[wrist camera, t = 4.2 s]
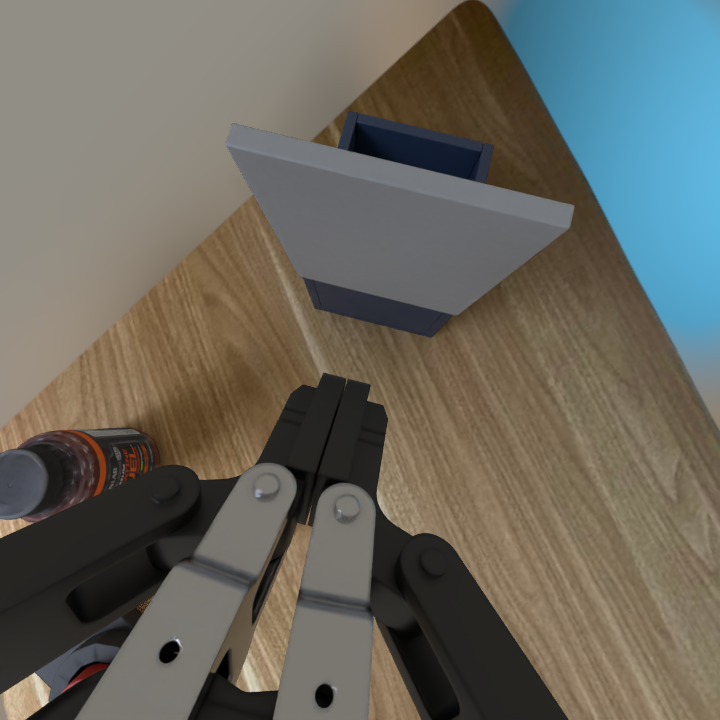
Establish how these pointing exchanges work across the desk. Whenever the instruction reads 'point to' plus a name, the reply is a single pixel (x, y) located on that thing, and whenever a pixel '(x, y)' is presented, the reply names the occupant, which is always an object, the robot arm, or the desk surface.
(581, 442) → the desk surface
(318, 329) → the desk surface
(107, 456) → the supplement bottle
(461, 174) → the lidded storage box
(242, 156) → the lid
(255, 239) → the desk surface
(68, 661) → the control block
